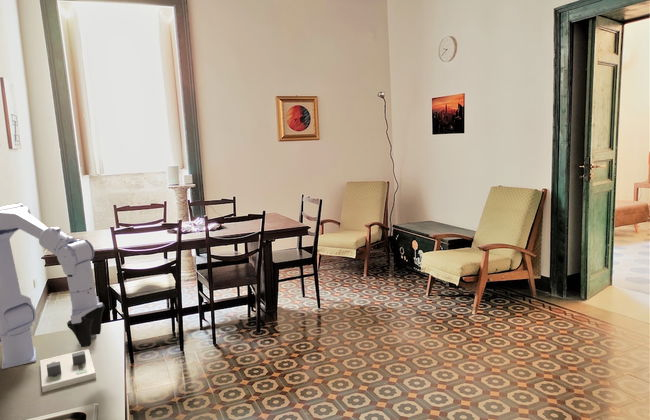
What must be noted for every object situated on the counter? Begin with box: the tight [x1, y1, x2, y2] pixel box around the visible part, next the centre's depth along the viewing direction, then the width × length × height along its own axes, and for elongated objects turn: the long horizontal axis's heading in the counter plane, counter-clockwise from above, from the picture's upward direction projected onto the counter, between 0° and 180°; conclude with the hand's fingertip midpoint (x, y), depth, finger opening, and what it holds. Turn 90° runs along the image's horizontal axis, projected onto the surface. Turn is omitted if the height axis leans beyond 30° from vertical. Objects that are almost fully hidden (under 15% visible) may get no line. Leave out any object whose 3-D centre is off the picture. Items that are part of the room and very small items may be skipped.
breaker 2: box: [72, 350, 86, 365], centre depth 129 cm, size 2×3×2 cm, turn 122°
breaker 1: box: [47, 362, 61, 377], centre depth 124 cm, size 2×3×2 cm, turn 121°
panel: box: [39, 348, 97, 393], centre depth 128 cm, size 16×12×2 cm
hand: (91, 340), depth 123 cm, fingers open, 7 cm apart
